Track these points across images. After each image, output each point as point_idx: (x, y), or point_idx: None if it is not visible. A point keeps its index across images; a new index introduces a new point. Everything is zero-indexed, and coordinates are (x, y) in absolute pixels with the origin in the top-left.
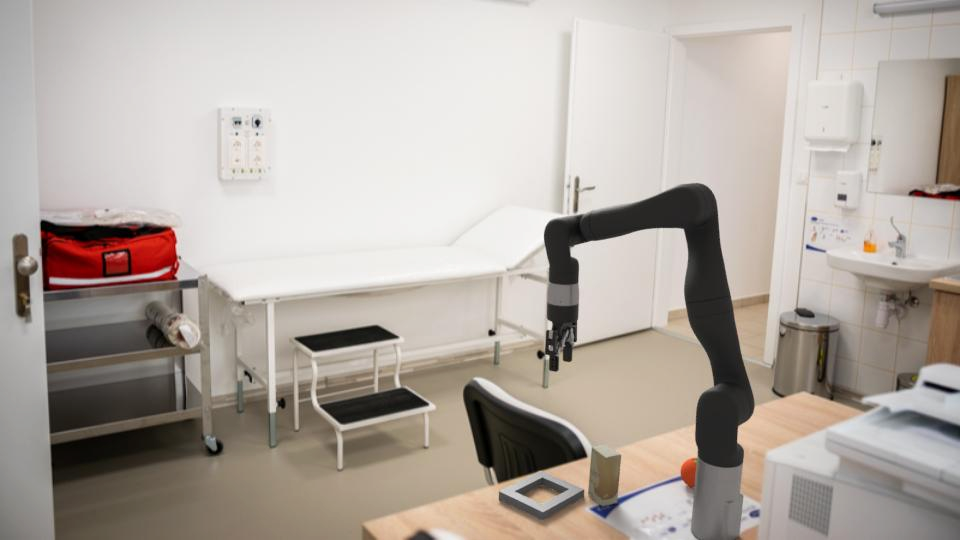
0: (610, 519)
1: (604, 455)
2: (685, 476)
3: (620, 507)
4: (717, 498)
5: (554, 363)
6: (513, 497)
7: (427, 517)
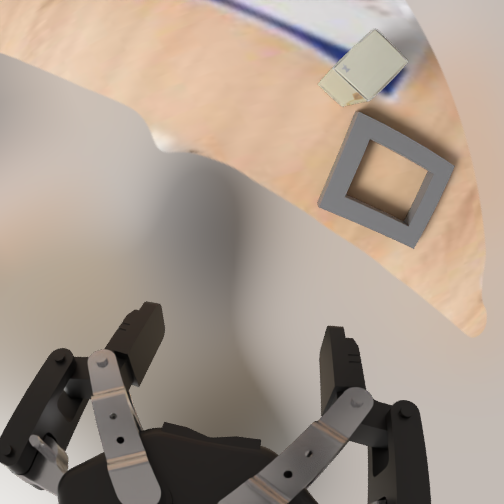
0: None
1: (400, 65)
2: None
3: None
4: None
5: (359, 367)
6: (427, 222)
7: (462, 302)
